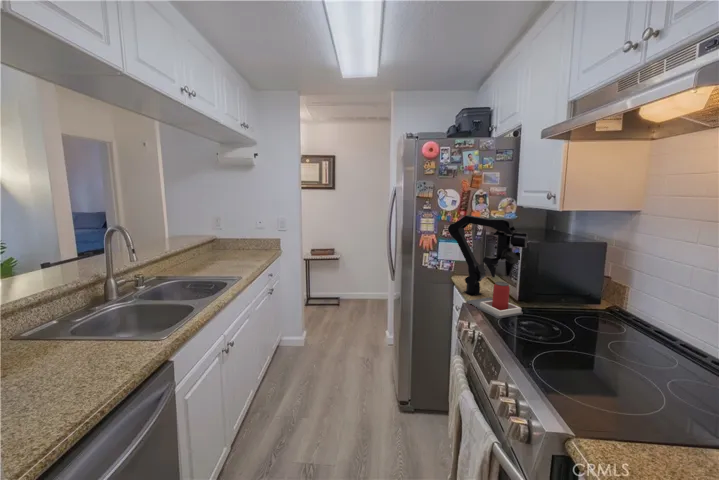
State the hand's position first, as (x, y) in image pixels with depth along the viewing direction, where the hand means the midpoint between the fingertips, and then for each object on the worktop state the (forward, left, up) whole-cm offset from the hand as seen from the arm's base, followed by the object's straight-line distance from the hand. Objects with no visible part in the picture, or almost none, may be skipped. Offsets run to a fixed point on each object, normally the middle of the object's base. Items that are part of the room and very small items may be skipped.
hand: (500, 276), depth 156 cm
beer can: (+12, -11, -11) cm, 20 cm away
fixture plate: (+8, -11, -12) cm, 18 cm away
